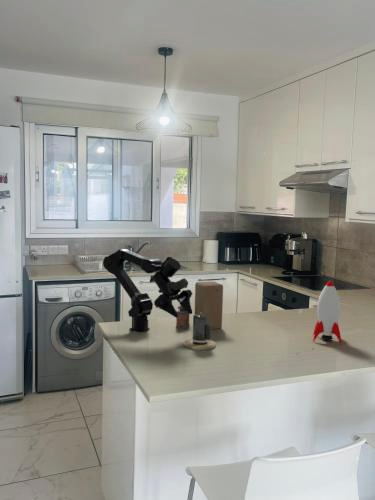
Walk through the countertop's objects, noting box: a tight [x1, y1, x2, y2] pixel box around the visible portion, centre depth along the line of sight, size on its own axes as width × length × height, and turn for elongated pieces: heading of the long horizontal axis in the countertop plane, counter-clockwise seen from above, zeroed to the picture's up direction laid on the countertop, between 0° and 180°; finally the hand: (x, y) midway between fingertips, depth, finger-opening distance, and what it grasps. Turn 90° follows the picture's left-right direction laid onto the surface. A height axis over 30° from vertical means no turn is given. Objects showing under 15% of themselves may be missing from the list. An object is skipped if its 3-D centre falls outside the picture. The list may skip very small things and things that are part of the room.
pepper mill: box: [191, 312, 212, 345], centre depth 175 cm, size 8×6×12 cm
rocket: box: [312, 280, 343, 346], centre depth 187 cm, size 11×11×25 cm
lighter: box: [175, 305, 190, 330], centre depth 203 cm, size 8×3×10 cm, turn 141°
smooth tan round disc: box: [184, 338, 217, 351], centre depth 176 cm, size 12×12×1 cm
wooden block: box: [194, 281, 224, 330], centre depth 204 cm, size 10×10×20 cm
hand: (184, 315), depth 181 cm, fingers open, 9 cm apart
